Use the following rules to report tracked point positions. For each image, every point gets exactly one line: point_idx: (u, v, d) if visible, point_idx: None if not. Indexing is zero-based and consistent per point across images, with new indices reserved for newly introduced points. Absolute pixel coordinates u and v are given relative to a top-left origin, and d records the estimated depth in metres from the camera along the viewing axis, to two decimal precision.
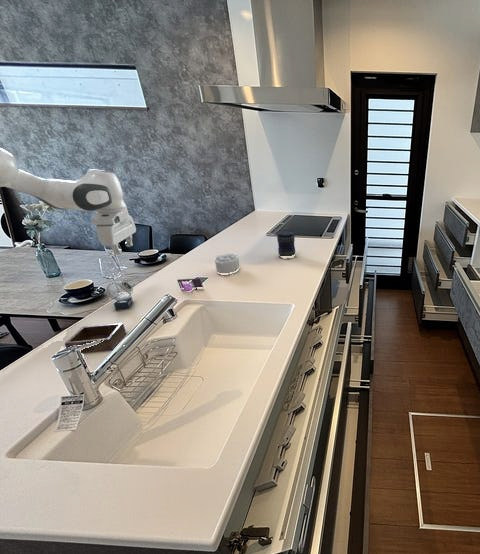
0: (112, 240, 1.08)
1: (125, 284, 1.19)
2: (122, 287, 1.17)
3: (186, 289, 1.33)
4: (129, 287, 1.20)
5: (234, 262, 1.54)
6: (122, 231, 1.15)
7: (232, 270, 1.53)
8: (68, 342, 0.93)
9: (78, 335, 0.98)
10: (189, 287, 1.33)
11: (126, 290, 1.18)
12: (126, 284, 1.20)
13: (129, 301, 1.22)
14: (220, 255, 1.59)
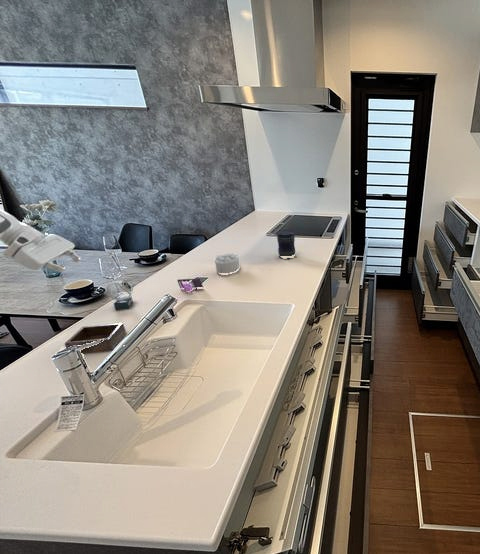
0: (34, 259, 1.00)
1: (125, 284, 1.19)
2: (122, 287, 1.17)
3: (186, 289, 1.33)
4: (129, 287, 1.20)
5: (234, 262, 1.54)
6: (48, 249, 1.07)
7: (232, 270, 1.53)
8: (68, 342, 0.93)
9: (78, 335, 0.98)
10: (189, 287, 1.33)
11: (126, 290, 1.18)
12: (126, 284, 1.20)
13: (129, 301, 1.22)
14: (220, 255, 1.59)
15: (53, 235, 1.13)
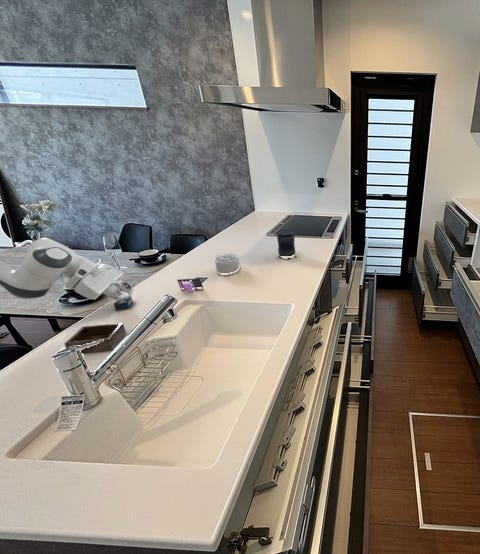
0: (93, 290, 1.08)
1: (125, 284, 1.19)
2: (122, 287, 1.17)
3: (186, 289, 1.33)
4: (129, 287, 1.20)
5: (234, 262, 1.54)
6: (102, 279, 1.15)
7: (232, 270, 1.53)
8: (68, 342, 0.93)
9: (78, 335, 0.98)
10: (189, 287, 1.33)
11: (126, 290, 1.18)
12: (126, 284, 1.20)
13: (129, 301, 1.22)
14: (220, 255, 1.59)
15: (105, 265, 1.21)
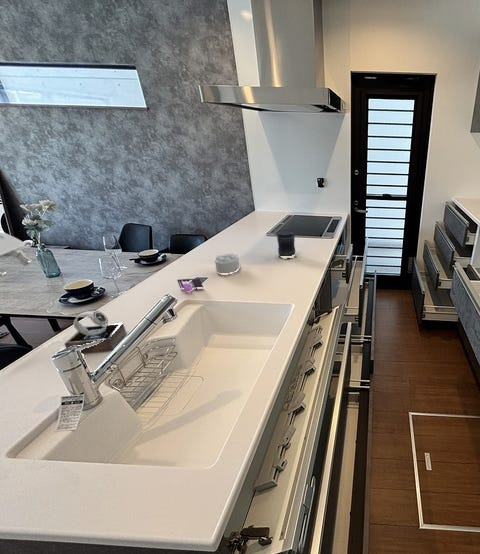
0: None
1: (98, 315, 0.97)
2: (94, 320, 0.95)
3: (186, 289, 1.33)
4: (103, 319, 0.98)
5: (234, 262, 1.54)
6: None
7: (232, 270, 1.53)
8: (68, 342, 0.93)
9: (78, 335, 0.98)
10: (189, 287, 1.33)
11: (99, 323, 0.96)
12: (99, 315, 0.98)
13: (103, 335, 0.99)
14: (220, 255, 1.59)
15: None
